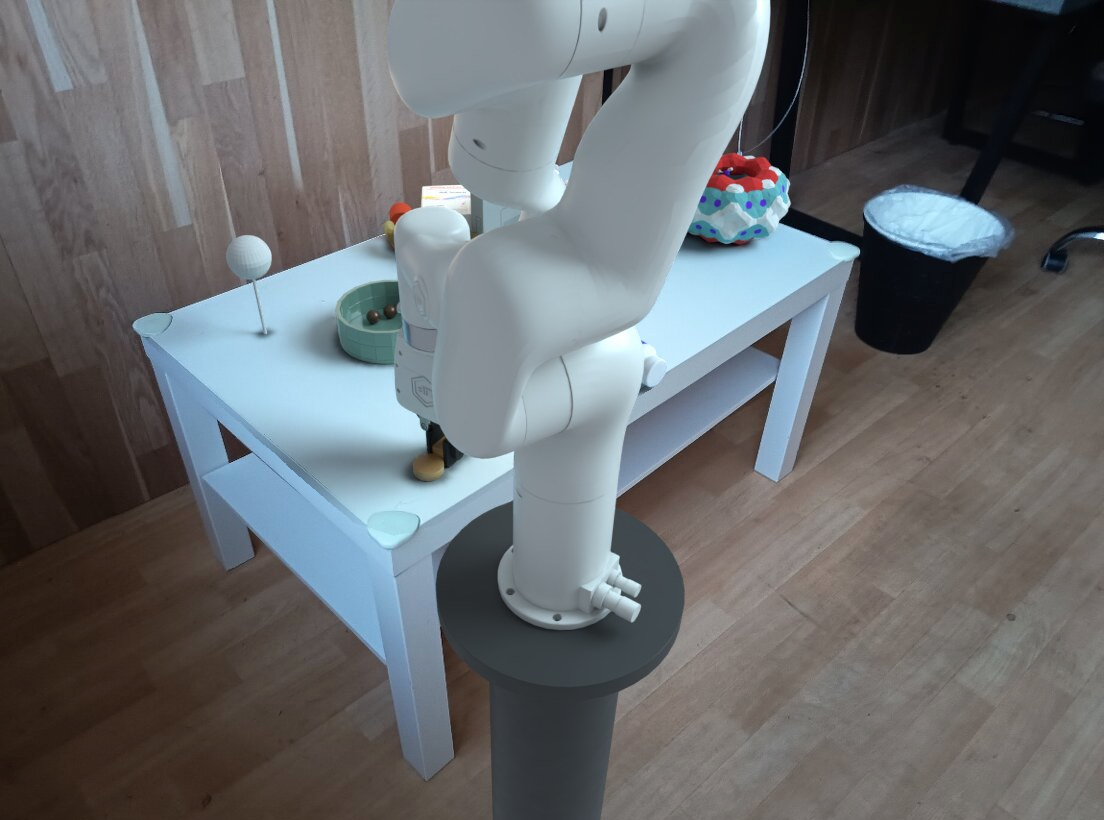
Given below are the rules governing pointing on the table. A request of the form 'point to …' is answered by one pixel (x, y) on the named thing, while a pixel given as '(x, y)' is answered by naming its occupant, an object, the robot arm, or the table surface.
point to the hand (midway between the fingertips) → (446, 455)
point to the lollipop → (249, 262)
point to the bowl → (360, 334)
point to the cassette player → (490, 215)
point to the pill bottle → (652, 366)
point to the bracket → (398, 212)
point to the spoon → (430, 463)
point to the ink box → (448, 199)
